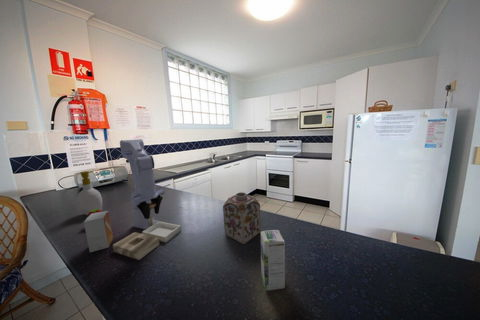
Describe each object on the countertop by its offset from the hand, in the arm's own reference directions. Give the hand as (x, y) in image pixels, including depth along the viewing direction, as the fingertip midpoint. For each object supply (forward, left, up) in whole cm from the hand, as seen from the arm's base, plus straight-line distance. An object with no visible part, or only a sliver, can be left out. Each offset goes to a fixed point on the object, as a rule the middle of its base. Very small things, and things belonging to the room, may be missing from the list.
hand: (151, 215), depth 73 cm
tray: (+1, +4, -10) cm, 11 cm away
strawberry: (-40, 0, -11) cm, 42 cm away
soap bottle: (-59, +8, -11) cm, 61 cm away
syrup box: (+53, -5, -11) cm, 54 cm away
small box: (-18, -10, -11) cm, 24 cm away
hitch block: (-1, -7, -10) cm, 13 cm away
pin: (0, -1, -4) cm, 4 cm away
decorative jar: (+36, +15, -11) cm, 40 cm away
